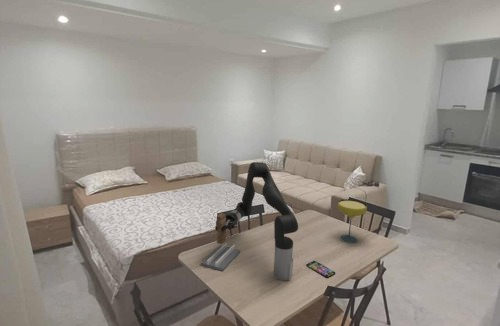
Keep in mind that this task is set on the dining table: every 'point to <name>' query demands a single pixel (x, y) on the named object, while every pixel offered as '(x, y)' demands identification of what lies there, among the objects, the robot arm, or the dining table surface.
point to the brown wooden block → (220, 223)
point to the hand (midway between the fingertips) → (218, 229)
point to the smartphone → (320, 269)
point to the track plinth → (221, 257)
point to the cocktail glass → (351, 214)
